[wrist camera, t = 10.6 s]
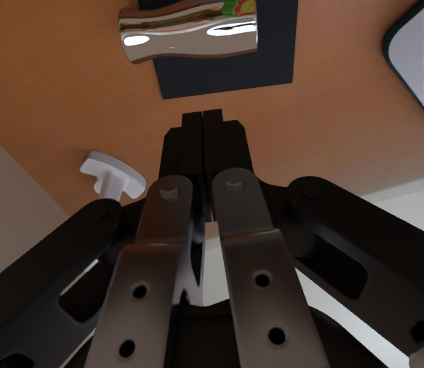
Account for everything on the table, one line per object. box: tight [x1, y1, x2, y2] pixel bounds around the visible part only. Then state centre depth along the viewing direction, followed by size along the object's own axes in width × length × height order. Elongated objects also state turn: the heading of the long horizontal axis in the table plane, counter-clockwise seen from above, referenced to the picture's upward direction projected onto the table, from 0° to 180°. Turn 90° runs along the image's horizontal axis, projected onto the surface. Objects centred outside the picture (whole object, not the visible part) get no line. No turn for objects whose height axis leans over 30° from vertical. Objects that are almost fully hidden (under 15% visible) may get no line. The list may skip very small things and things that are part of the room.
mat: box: [138, 0, 298, 99], centre depth 38 cm, size 15×19×1 cm
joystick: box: [80, 151, 146, 272], centre depth 46 cm, size 11×8×20 cm
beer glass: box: [118, 0, 258, 65], centre depth 34 cm, size 7×7×15 cm
